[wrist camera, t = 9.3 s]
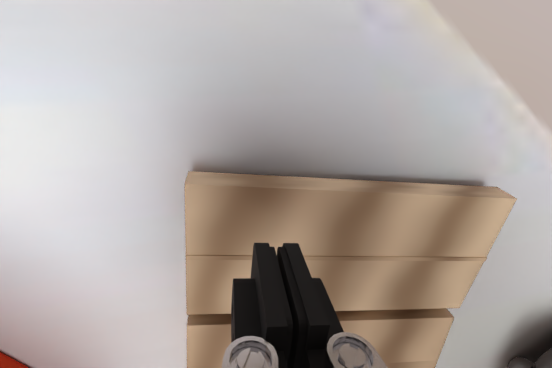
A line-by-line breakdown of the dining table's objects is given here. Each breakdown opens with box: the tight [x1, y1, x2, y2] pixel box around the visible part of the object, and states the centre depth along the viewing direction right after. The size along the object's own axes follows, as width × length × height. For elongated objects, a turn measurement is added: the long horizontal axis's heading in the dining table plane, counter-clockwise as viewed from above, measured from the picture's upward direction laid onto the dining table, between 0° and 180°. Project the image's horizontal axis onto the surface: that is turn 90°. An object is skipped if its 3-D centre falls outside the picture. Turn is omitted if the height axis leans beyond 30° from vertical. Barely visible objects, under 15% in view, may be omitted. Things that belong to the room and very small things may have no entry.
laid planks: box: [187, 308, 454, 368], centre depth 24 cm, size 20×9×2 cm, turn 84°
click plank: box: [185, 171, 517, 315], centre depth 20 cm, size 20×10×2 cm, turn 84°
